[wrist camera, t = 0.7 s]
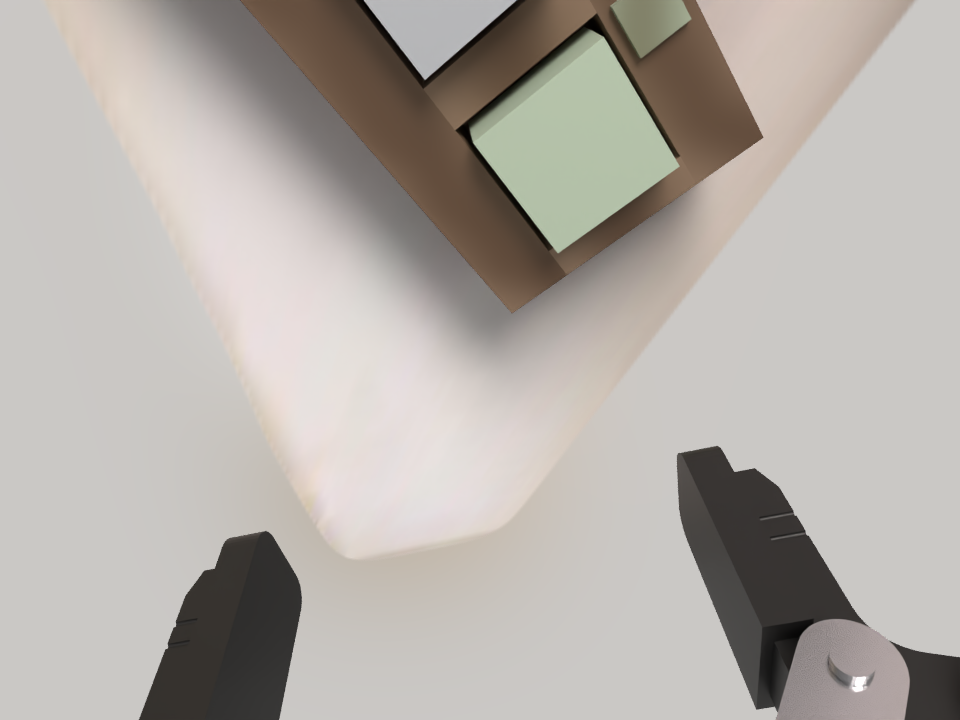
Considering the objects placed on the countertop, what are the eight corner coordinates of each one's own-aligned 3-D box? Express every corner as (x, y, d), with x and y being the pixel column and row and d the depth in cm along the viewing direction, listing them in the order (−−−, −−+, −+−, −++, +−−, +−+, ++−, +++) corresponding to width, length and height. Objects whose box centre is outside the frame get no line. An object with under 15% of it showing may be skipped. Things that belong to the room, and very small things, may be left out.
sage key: (583, 26, 23) (603, 37, 21) (654, 144, 26) (679, 166, 23) (467, 122, 25) (473, 142, 22) (545, 224, 27) (557, 253, 25)
